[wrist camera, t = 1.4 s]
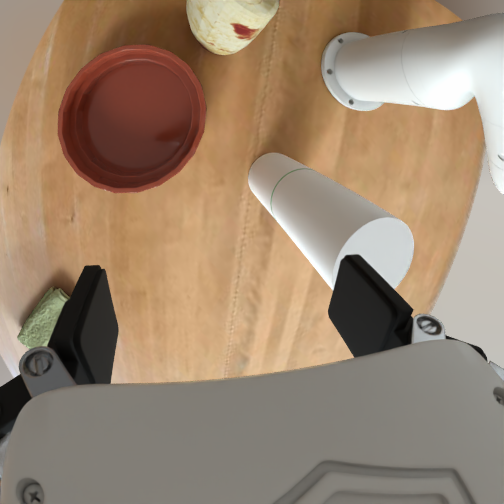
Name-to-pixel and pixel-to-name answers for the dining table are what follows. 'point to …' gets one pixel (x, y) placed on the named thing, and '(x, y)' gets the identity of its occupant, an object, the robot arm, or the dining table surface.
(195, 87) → the bowl
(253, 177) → the cylindrical container
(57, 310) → the washcloth
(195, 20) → the food model
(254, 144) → the dining table surface
